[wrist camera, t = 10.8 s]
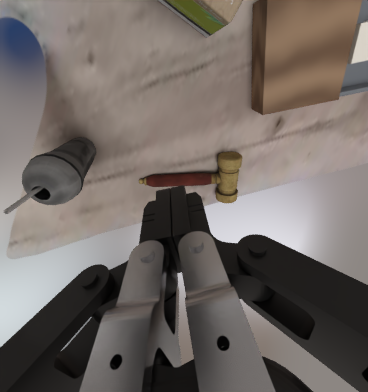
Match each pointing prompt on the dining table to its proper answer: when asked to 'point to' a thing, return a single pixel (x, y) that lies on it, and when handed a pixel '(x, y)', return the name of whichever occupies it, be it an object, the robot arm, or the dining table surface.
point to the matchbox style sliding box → (300, 51)
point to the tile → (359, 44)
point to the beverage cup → (57, 173)
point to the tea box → (204, 13)
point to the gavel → (206, 178)
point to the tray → (357, 65)
